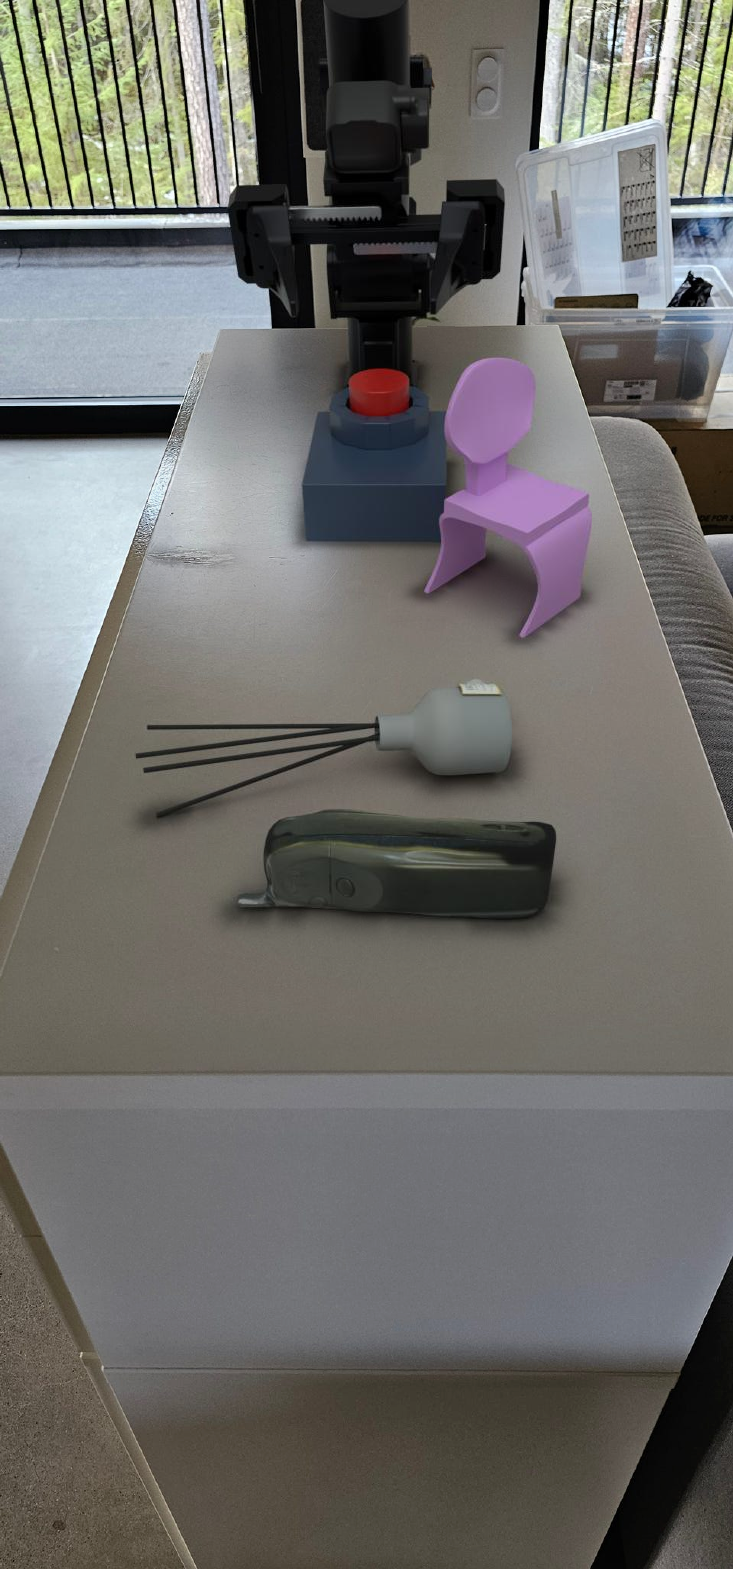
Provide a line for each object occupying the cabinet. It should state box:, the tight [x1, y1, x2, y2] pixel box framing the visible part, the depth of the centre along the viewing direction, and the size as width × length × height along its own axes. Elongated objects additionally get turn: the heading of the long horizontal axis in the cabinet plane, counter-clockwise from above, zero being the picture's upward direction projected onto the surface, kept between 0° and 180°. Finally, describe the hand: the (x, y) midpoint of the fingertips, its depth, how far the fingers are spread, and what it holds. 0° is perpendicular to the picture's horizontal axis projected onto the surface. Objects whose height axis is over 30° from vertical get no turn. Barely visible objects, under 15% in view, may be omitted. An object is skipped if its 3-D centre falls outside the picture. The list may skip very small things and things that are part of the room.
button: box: [349, 369, 409, 417], centre depth 81 cm, size 4×4×2 cm
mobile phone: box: [237, 808, 557, 920], centre depth 52 cm, size 5×3×15 cm
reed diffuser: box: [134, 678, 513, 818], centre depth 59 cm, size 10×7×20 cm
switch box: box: [301, 386, 448, 543], centre depth 81 cm, size 13×10×6 cm
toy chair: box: [423, 357, 593, 639], centre depth 68 cm, size 8×9×15 cm
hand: (362, 309), depth 72 cm, fingers open, 9 cm apart
